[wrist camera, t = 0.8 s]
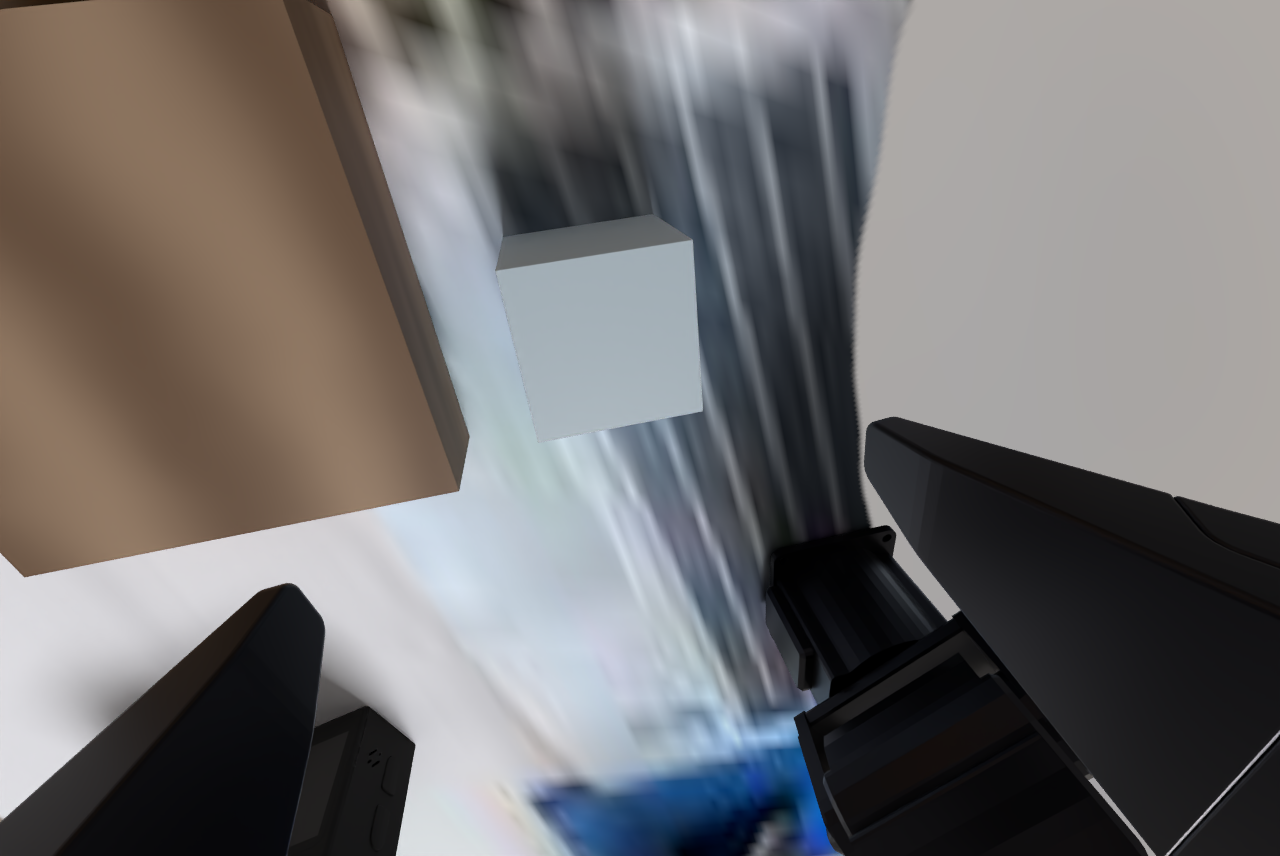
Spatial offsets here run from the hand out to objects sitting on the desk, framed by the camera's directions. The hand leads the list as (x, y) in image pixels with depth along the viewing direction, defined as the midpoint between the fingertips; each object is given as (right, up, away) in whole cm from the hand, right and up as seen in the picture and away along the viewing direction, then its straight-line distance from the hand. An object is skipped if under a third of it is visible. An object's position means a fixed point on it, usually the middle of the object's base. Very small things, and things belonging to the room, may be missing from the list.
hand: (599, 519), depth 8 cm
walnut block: (-13, +6, +9) cm, 17 cm away
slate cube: (-1, +6, +11) cm, 12 cm away
